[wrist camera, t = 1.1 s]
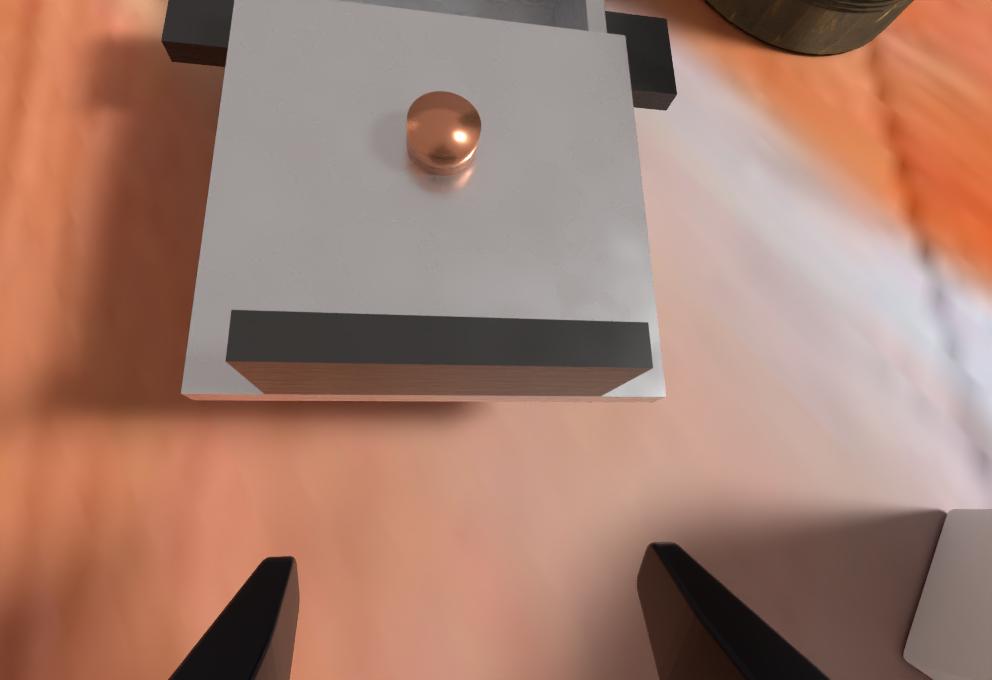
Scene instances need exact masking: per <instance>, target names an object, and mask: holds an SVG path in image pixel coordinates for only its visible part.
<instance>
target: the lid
mask: <svg viewBox="0 0 992 680" xmlns="http://www.w3.org/2000/svg"><path fill="white" fill-rule="evenodd" d="M181 394H182V395H184V396H186V397H188V398H190V399H192V400H248V401H463V402H655V401H657V400H660V399H662V398H665V397H666V391H665V382H664V373H663V365H662V356H661V347H660V338H659V329H658V320H657V312H656V303H655V294H654V285H653V276H652V267H651V258H650V250H649V241H648V232H647V223H646V214H645V205H644V197H643V188H642V179H641V170H640V161H639V152H638V143H637V135H636V126H635V117H634V108H633V99H632V90H631V82H630V73H629V64H628V55H627V46H626V37H625V35H617V34H609V33H601V32H593V31H584V30H576V29H568V28H560V27H551V26H543V25H535V24H527V23H518V22H510V21H502V20H494V19H485V18H477V17H469V16H461V15H452V14H444V13H436V12H428V11H420V10H411V9H403V8H395V7H387V6H378V5H370V4H362V3H354V2H345V1H337V0H234V7H233V15H232V22H231V29H230V37H229V44H228V51H227V59H226V66H225V73H224V81H223V88H222V95H221V103H220V110H219V117H218V125H217V132H216V139H215V147H214V154H213V161H212V169H211V176H210V183H209V191H208V198H207V205H206V213H205V220H204V227H203V235H202V242H201V249H200V257H199V264H198V271H197V279H196V286H195V293H194V301H193V308H192V316H191V323H190V330H189V338H188V345H187V352H186V360H185V367H184V374H183V382H182V389H181Z"/></svg>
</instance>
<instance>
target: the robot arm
mask: <svg viewBox="0 0 992 680" xmlns="http://www.w3.org/2000/svg"><path fill="white" fill-rule="evenodd" d="M637 590H638V595H639V599H640V603H641V607H642V611H643V615H644V619H645V623H646V627H647V631H648V635H649V639H650V643H651V647H652V651H653V655H654V659H655V663H656V667H657V671H658V675H659V679H660V680H831V679H830V678H829V677H827V676H826V675H825V674H824V673H823V672H822V671H821V670H819V669H818V668H817V667H816V666H815V665H814V664H813V663H812V662H810V661H809V660H808V659H807V658H806V657H805V656H804V655H802V654H801V653H800V652H799V651H798V650H797V649H796V648H795V647H793V646H792V645H791V644H790V643H789V642H788V641H787V640H785V639H784V638H783V637H782V636H781V635H780V634H779V633H778V632H776V631H775V630H774V629H773V628H772V627H771V626H770V625H768V624H767V623H766V622H765V621H764V620H763V619H762V618H761V617H759V616H758V615H757V614H756V613H755V612H754V611H753V610H751V609H750V608H749V607H748V606H747V605H746V604H745V603H744V602H742V601H741V600H740V599H739V598H738V597H737V596H736V595H734V594H733V593H732V592H731V591H730V590H729V589H728V588H727V587H725V586H724V585H723V584H722V583H721V582H720V581H719V580H717V579H716V578H715V577H714V576H713V575H712V574H711V573H710V572H708V571H707V570H706V569H705V568H704V567H703V566H702V565H700V564H699V563H698V562H697V561H696V560H695V559H694V558H693V557H691V556H690V555H689V554H688V553H687V552H686V551H685V550H683V549H682V548H681V547H680V546H679V545H677V544H676V543H673V542H653V543H650V544H649V545H648V546H647V549H646V552H645V555H644V558H643V561H642V564H641V567H640V570H639V573H638V577H637ZM298 612H299V584H298V573H297V563H296V560H295V558H294V557H291V556H285V557H268V558H266V559H264V560H263V561H262V562H261V563H260V565H259V566H258V567H257V568H256V570H255V571H254V572H253V573H252V575H251V576H250V577H249V578H248V580H247V581H246V582H245V583H244V585H243V586H242V587H241V589H240V590H239V591H238V592H237V594H236V595H235V596H234V597H233V599H232V600H231V601H230V602H229V604H228V605H227V606H226V607H225V609H224V610H223V611H222V612H221V614H220V615H219V616H218V618H217V619H216V620H215V621H214V623H213V624H212V625H211V626H210V628H209V629H208V630H207V631H206V633H205V634H204V635H203V636H202V638H201V639H200V640H199V641H198V643H197V644H196V645H195V646H194V648H193V649H192V650H191V652H190V653H189V654H188V655H187V657H186V658H185V659H184V660H183V662H182V663H181V664H180V665H179V667H178V668H177V669H176V670H175V672H174V673H173V674H172V675H171V677H170V678H169V679H168V680H290V672H291V665H292V657H293V650H294V642H295V634H296V627H297V619H298Z"/></svg>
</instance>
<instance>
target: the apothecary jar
mask: <svg viewBox="0 0 992 680" xmlns="http://www.w3.org/2000/svg"><path fill="white" fill-rule="evenodd" d="M707 1H708V2H709V3H710V4H711V5H712V6H713V7H714V8H715V9H716V10H717V11H718V12H719V13H720V14H722V15H723V16H724V17H725V18H726V19H727V20H729V21H730V22H732V23H733V24H735V25H736V26H738V27H739V28H741V29H742V30H744V31H746V32H748V33H749V34H751V35H753V36H755V37H757V38H759V39H761V40H763V41H765V42H767V43H770V44H773V45H775V46H777V47H781V48H784V49H787V50H792V51H796V52H802V53H808V54H820V55H821V54H836V53H842V52H848V51H851V50H854V49H857V48H860V47H862V46H864V45H865V44H867V43H868V42H870V41H872V40H873V39H874V38H875V37H876V36H878V35H879V34H880V33H881V32H882V31H883V30H884V29H885V28H886V27H887V26H888V25H889V24H890V23H891V22H892V21H893V20H894V19H895V18H896V17H897V16H898V15H899V14H900V13H901V12H902V11H903V10H904V9H905V8H907V7H908V6H909V5H910V4H911V3H912V2H913V1H914V0H707Z"/></svg>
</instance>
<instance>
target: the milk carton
mask: <svg viewBox="0 0 992 680" xmlns="http://www.w3.org/2000/svg"><path fill="white" fill-rule="evenodd" d="M903 657H904V659H905V660H906V661H907V662H908V663H910V664H911V665H913V666H914V667H916V668H917V669H918V670H920V671H921V672H923V673H924V674H926V675H927V676H929V677H930V678H931V679H933V680H992V509H953V510H950V511H949V512H948V514H947V517H946V520H945V523H944V526H943V529H942V532H941V535H940V538H939V541H938V545H937V548H936V551H935V554H934V557H933V560H932V564H931V567H930V570H929V573H928V576H927V579H926V582H925V586H924V589H923V592H922V595H921V598H920V601H919V605H918V608H917V611H916V614H915V617H914V620H913V623H912V627H911V630H910V633H909V636H908V639H907V643H906V646H905V649H904V654H903Z"/></svg>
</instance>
